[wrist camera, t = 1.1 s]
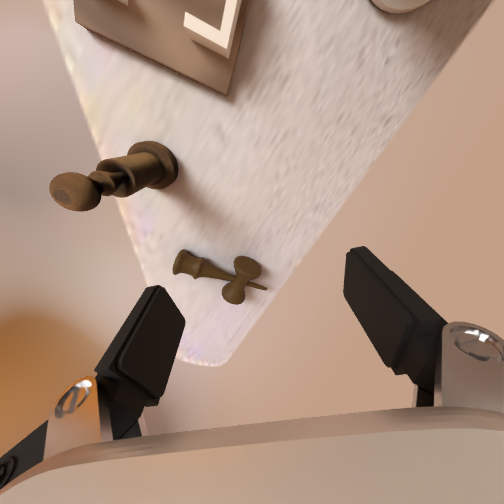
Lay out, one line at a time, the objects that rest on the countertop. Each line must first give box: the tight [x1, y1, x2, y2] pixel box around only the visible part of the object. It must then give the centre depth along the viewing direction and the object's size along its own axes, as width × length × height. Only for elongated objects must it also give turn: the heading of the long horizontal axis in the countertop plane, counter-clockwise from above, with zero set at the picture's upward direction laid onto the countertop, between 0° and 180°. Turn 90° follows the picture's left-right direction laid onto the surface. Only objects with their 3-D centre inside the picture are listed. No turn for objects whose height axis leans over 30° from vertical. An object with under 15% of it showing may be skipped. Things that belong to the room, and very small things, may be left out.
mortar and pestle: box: [50, 141, 178, 211], centre depth 22 cm, size 7×6×18 cm
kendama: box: [173, 249, 267, 305], centre depth 38 cm, size 6×10×20 cm
